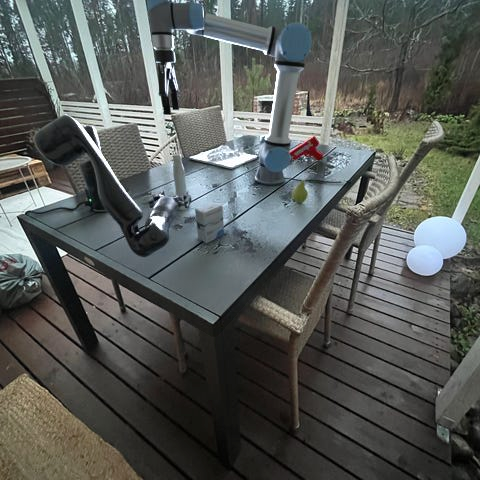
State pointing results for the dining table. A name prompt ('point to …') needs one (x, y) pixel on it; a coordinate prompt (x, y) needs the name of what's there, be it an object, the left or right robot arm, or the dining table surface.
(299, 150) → the toy gun
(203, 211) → the ink box
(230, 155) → the relief map
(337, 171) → the dining table surface
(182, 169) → the bottle
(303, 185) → the fruit
